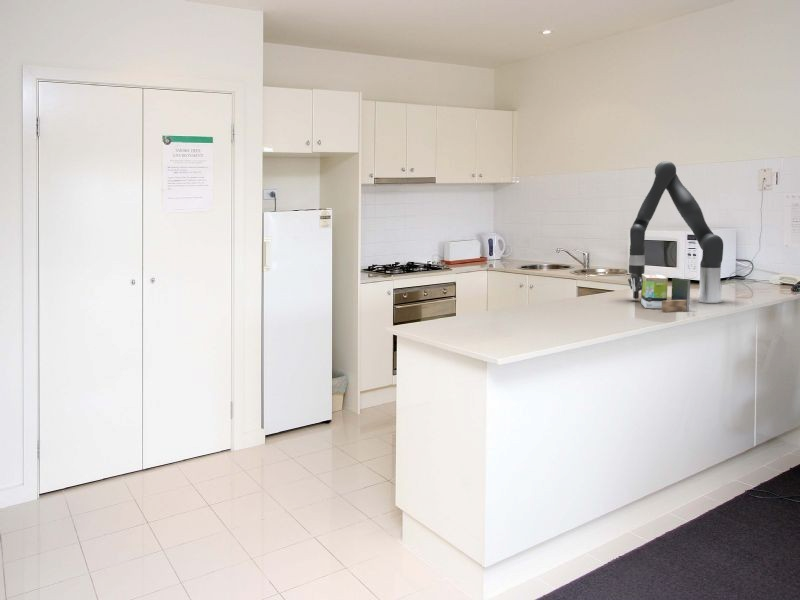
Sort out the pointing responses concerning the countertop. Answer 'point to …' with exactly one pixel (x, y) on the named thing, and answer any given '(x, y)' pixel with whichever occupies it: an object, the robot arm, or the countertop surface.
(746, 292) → the countertop surface
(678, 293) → the bookend
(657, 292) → the tea box
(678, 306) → the wooden block
